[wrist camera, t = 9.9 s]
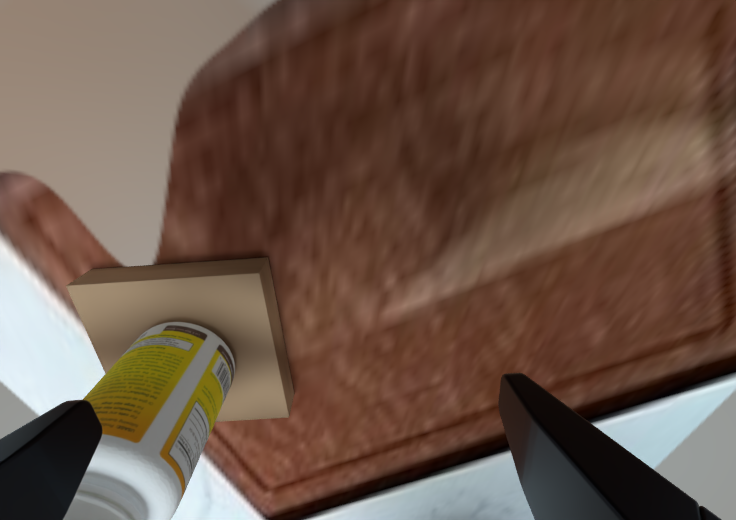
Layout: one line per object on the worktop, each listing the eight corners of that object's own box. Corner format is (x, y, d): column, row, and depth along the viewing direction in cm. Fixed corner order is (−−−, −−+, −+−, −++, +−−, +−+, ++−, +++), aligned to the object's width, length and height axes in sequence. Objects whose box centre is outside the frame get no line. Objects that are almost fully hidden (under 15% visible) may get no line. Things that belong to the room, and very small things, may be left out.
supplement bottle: (117, 350, 21) (-81, 559, 12) (184, 298, 20) (24, 486, 10) (192, 409, 23) (75, 629, 13) (259, 365, 21) (180, 575, 12)
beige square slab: (294, 393, 25) (289, 417, 23) (146, 402, 25) (129, 426, 23) (268, 257, 21) (259, 273, 19) (91, 269, 21) (65, 286, 19)
